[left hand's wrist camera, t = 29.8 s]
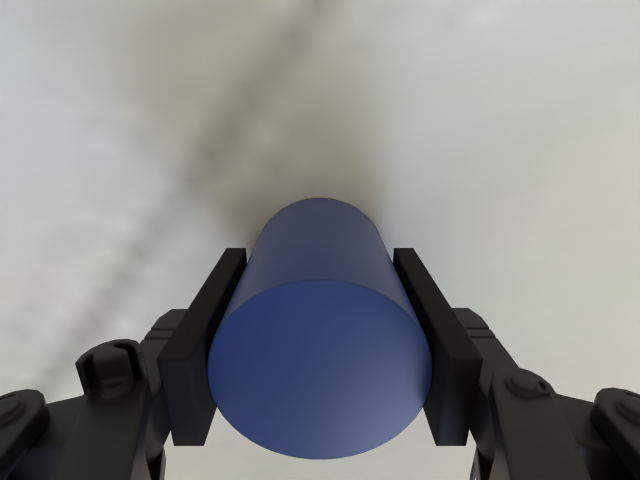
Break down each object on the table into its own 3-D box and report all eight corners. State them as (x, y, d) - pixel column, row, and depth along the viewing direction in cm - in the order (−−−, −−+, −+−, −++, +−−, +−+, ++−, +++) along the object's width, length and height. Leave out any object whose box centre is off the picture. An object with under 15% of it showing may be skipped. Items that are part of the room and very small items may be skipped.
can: (265, 185, 15) (217, 258, 8) (399, 212, 15) (466, 304, 8) (247, 303, 17) (197, 444, 10) (366, 324, 18) (397, 473, 11)
